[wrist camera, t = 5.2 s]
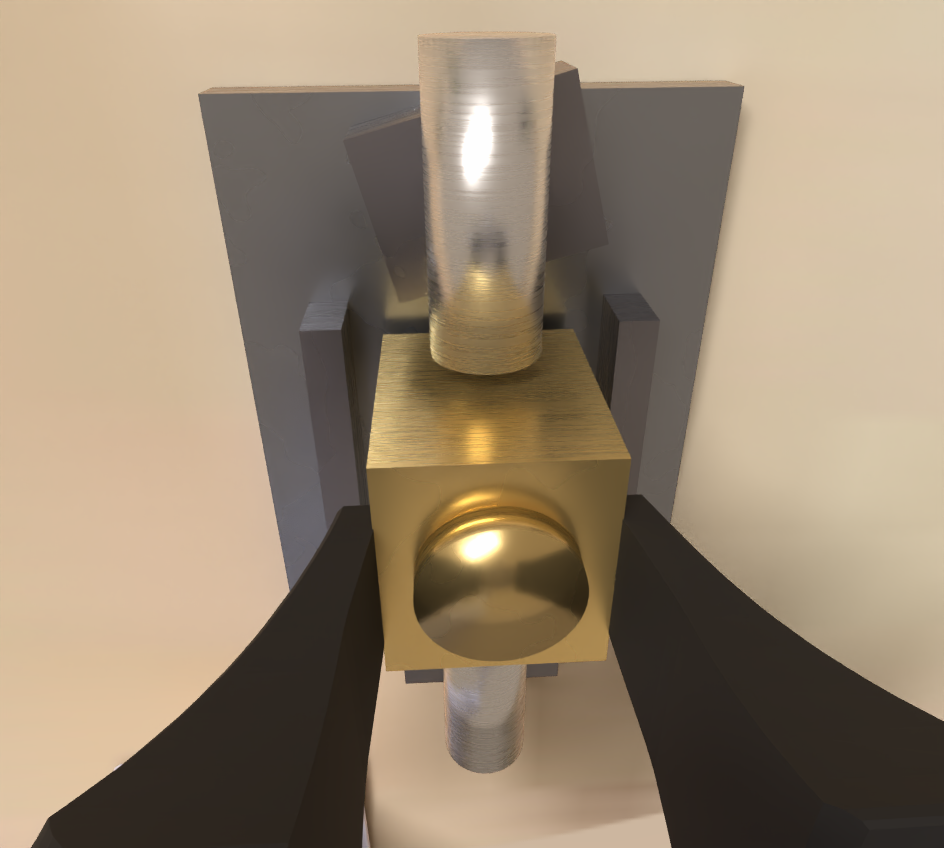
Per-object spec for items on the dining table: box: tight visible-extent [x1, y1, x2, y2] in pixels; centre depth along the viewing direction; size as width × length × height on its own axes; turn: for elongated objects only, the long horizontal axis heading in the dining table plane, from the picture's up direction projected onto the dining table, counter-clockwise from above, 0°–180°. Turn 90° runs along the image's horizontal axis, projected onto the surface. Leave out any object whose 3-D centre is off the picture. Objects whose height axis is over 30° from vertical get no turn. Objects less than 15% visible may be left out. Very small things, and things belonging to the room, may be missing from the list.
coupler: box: [366, 329, 631, 671], centre depth 14 cm, size 4×4×6 cm
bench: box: [198, 32, 744, 773], centre depth 16 cm, size 16×10×5 cm, turn 0°
